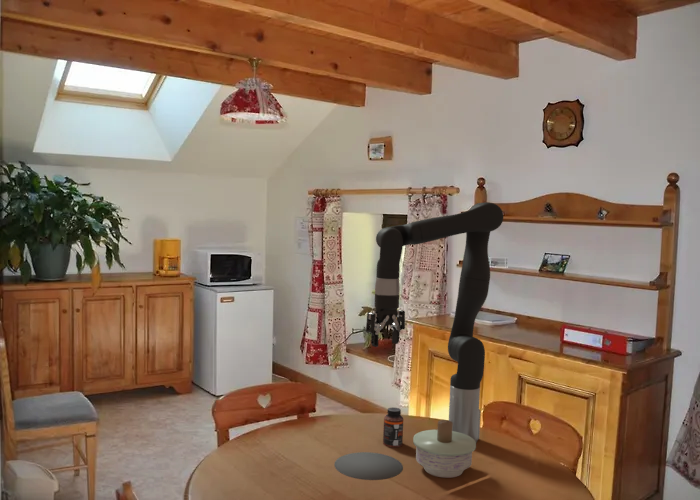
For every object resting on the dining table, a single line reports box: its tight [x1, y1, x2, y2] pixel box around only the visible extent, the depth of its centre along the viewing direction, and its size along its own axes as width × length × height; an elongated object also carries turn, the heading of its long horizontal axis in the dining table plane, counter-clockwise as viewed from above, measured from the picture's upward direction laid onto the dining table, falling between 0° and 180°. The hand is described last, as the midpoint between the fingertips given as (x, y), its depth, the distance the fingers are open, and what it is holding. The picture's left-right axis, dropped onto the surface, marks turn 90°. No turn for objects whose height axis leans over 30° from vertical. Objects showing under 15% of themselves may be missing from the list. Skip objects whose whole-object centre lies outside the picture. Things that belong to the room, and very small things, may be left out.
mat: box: [334, 451, 404, 481], centre depth 172 cm, size 19×19×1 cm
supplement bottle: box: [382, 407, 404, 448], centre depth 189 cm, size 6×6×11 cm
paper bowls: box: [415, 446, 473, 479], centre depth 171 cm, size 15×15×8 cm
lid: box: [412, 419, 477, 456], centre depth 171 cm, size 17×17×6 cm
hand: (385, 344), depth 192 cm, fingers open, 8 cm apart
